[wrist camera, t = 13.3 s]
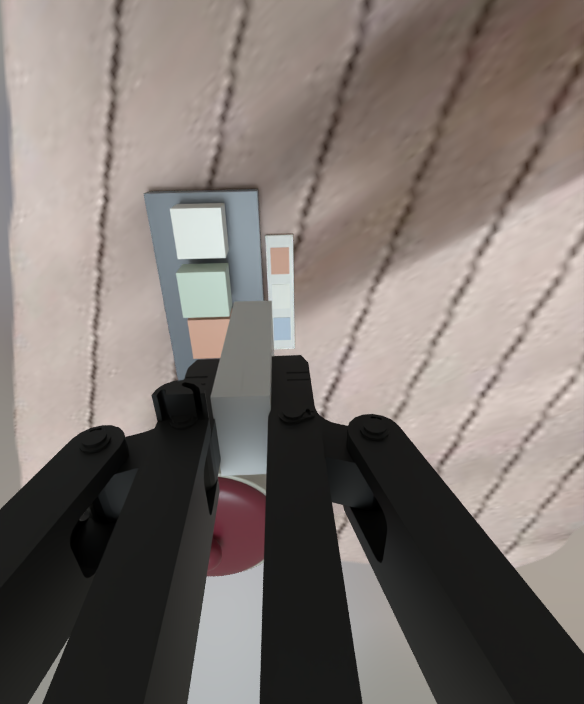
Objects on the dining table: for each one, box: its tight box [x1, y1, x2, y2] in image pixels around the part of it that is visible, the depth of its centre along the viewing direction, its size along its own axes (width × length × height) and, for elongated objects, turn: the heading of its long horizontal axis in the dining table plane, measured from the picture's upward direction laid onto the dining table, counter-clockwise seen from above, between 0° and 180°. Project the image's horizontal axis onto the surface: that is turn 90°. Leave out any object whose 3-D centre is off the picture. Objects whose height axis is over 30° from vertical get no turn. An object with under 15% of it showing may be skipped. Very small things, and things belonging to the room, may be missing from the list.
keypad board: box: [144, 189, 264, 381], centre depth 48 cm, size 25×12×4 cm, turn 1°
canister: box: [207, 467, 266, 576], centre depth 51 cm, size 18×18×21 cm
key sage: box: [176, 263, 232, 318], centre depth 43 cm, size 5×5×3 cm
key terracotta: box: [187, 308, 233, 359], centre depth 47 cm, size 5×5×3 cm
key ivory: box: [170, 203, 229, 259], centre depth 41 cm, size 5×5×3 cm
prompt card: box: [265, 234, 295, 349], centre depth 49 cm, size 15×3×1 cm, turn 1°
